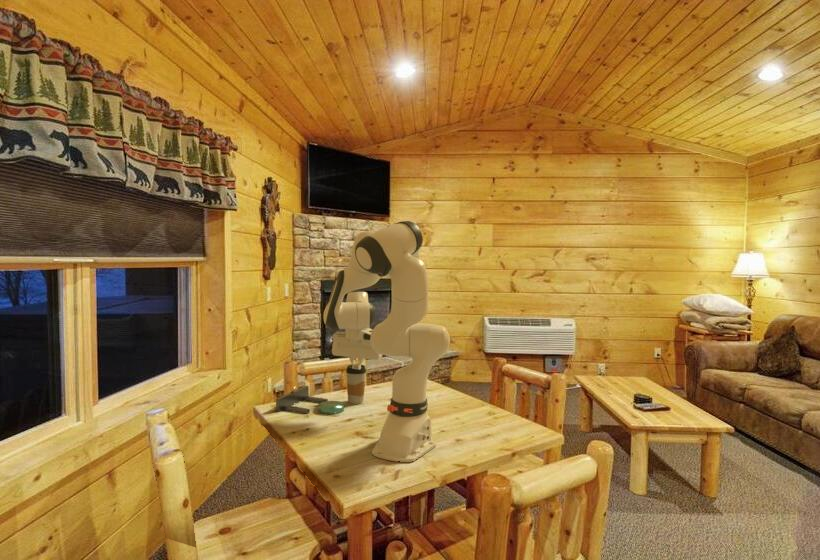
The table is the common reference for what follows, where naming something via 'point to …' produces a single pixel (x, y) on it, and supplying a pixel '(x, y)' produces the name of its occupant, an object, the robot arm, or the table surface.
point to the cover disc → (330, 407)
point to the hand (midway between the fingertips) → (356, 368)
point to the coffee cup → (355, 384)
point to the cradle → (296, 400)
